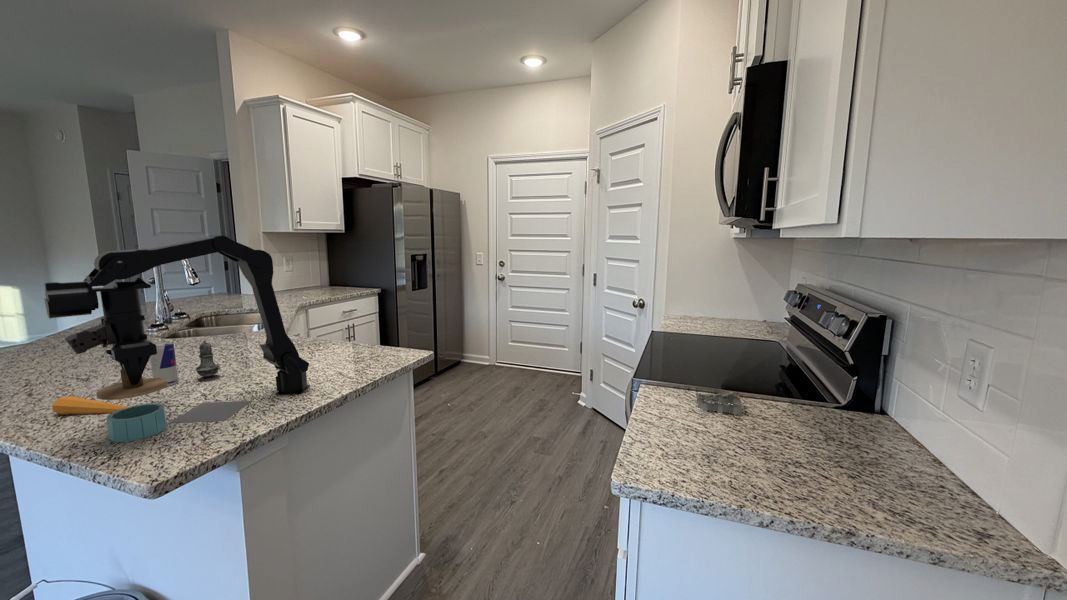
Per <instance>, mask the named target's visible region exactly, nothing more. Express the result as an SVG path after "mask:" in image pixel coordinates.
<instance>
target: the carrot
mask: <svg viewBox="0 0 1067 600" xmlns="http://www.w3.org/2000/svg"><path fill="white" fill-rule="evenodd" d="M128 407H129V406H127V405H122V404H118V403H111V402H107V401H100V400H99V401H98V400H95V399H88V398H82V397H76V396H69V395H68V396H63V397H60V398H56V399H55V401H54V402H53V404H52V405H51V409H52V412H54V413H55V414H57V415H62V416H65V415H67V416H68V414H72V415H91V414H92V413H97V414H111V413H113V412H116V411H118V410H121V409H124V408H128ZM92 415H93V414H92Z"/></svg>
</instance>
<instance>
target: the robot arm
mask: <svg viewBox="0 0 1067 600" xmlns="http://www.w3.org/2000/svg"><path fill="white" fill-rule="evenodd" d="M216 253H217V254H220V255H221V256H223V257H226V258H227V259H229V260H230V261H233V262H235V263H237V265H238V268H239V269H240V271H241V272H242V275H243V276H244V278H245V280H246V281H247V282H248V284H249V285H250V286H251V288H252V289H251V290H252V293H253V295H254V298H255V302H256V306H257V309H258V313H259V314H260V315H259V316H260V319H261V321H262V325H263V329H264V332H265V336H266V338H265V343H262V344H260V345H259V347H260V349H261V351H262V353H263V357H262V358H263V359H264V360H267V362H268V363H269V364H271V365H273V366H274V367H275V369H276V370H278V371H277V372H276V373H277V374H276V375H277V376H275V384H276V391H277V392H276V393H275V395H276V396H287V395H288V396H290V395H291V396H292V395H301V394H303V393H304V392H305V391H307V389H309V388H310V386H311V385H310V384H308V380H307V377H308V376H307V371H309V370H308V369H309V367H310V363H309V362H308V361H306V360H305V359H303V358H302V357H300V353H299V351H298V350H297V348H296V345H295V344H294V343H293V341H292V340H291V338H290V337H289V336H288V334H287V332H286V329H285V325H284V322H283V318H282V314H281V310H280V307H279V304H278V300H277V297H276V294H275V293H276V292H275V290H274V287H273V277H274V262H273V258H272V255H271V254H270V253H269V252H267V251H265V250H264V249H263V250H262V249H253V248H252V247H249V246H247V245H244V244H242V243H240V242H237V241H235V240H233V239H231V238H229V237H228V236H226V235H224V234H212V235H209V236H207V237H202V238H198V239H192V240H186V241H183V242H181V241H180V242H178V243H177V242H176V243H172V244H167V245H162V246H156V247H152V248H137V249H134V248H131V249H120V250H119V249H118V250H106V251H103V252H101V253H99V254H98V255H97V256H95V257H96V258H94V263H93V265H94V268H93V269H92V270H91V272H90V273H89V274H88V275H86V276H85V278H84V280H83V281H71V282H66V281H65V282H56V281H51V282H45V283H44V293H45V294H44V295H45V298H44V305H45V309H46V315H47V317H48V319H59V318H69V317H79V316H87V315H88V316H89V315H92V313H93V311H96V309H97V310H99V298H98V292H99V293H100V299H101V306H102V312H103V313H102V314H103V316H102V317H101V318H100V323H101V324H98V325H96V326H91V327H89V328H87V329H83V330H81V331H79V332H75V333H73V334H71V335H68V336H66V337H64V339H65V342H66V343H67V344H68V345H69V347H70V348H71V349H72V350H73V352H74V353H75V354H76V355H80V354H83V353H86V352H87V351H88V350H90V349H93V348H95V347H97V346H101V347H102V348H103V349H104V348H107V347H108V346H109V347H110V349H107V350H105V351H104V352H105V353H106V354H108V355H110V358H111V359H112V360H114V361H116V362H118V363H119V366H120V367H121V368H120V369H123V368H124V370H125V372H126V374H127V377H128V379H129V382H130V384H131V385H137V384H138V383H139V381H140V379H141V376H142V377H143V375H144V371H145V369H146V367H147V365H148V362H149V360H150V356H151V355H155V354H157V348H156V345H155V343H154V342H152V341H150V340H149V339H148V333H145V326H144V321H145V320H146V318H145V315H144V314H143V312H142V304H141V298H140V297H141V296H140V290H141V289H150V288H151V287H152V285H151V284H150V283H147V282H146V281H144V280H143V279H142V278H141V277H139V276H137V275H140V274H143V273H145V272H147V271H150V270H152V269H154V268H157V267H159V266H163V265H167V264H170V263H175V262H179V261H185V260H188V259H193V258H197V257H202V256H206V255H211V254H212V255H213V254H216ZM132 277H135V278H134V279H132V280H128V281H127V279H130V278H132ZM116 280H117V281H116ZM118 280H120V281H118ZM121 280H125V281H121ZM112 282H113V286H108V285H109V284H110V283H112Z"/></svg>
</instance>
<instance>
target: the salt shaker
mask: <svg viewBox="0 0 1067 600" xmlns="http://www.w3.org/2000/svg"><path fill="white" fill-rule="evenodd" d="M202 342H203V343H201V344H200V345H199V346H198V347H199V349H198V350H199V355H198V357H199V358H200V359H199V360H200V364H199V366H197V367H196V368H195V371H196V373H197V375H198V376H200V377H199V378H198V379H197V382H201V383H203V382H211V380H212V381H216V380H218V379H220V378H219V377H221V376H220V375H219V374H218V371H219V369H220V366H221V365H220V364H215V362H214V358H213V357H214V353H213V349H212V344H211V343H209V342H207V341H206V340H205V339H204V340H203V341H202ZM217 378H218V379H217ZM215 379H216V380H215Z"/></svg>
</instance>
